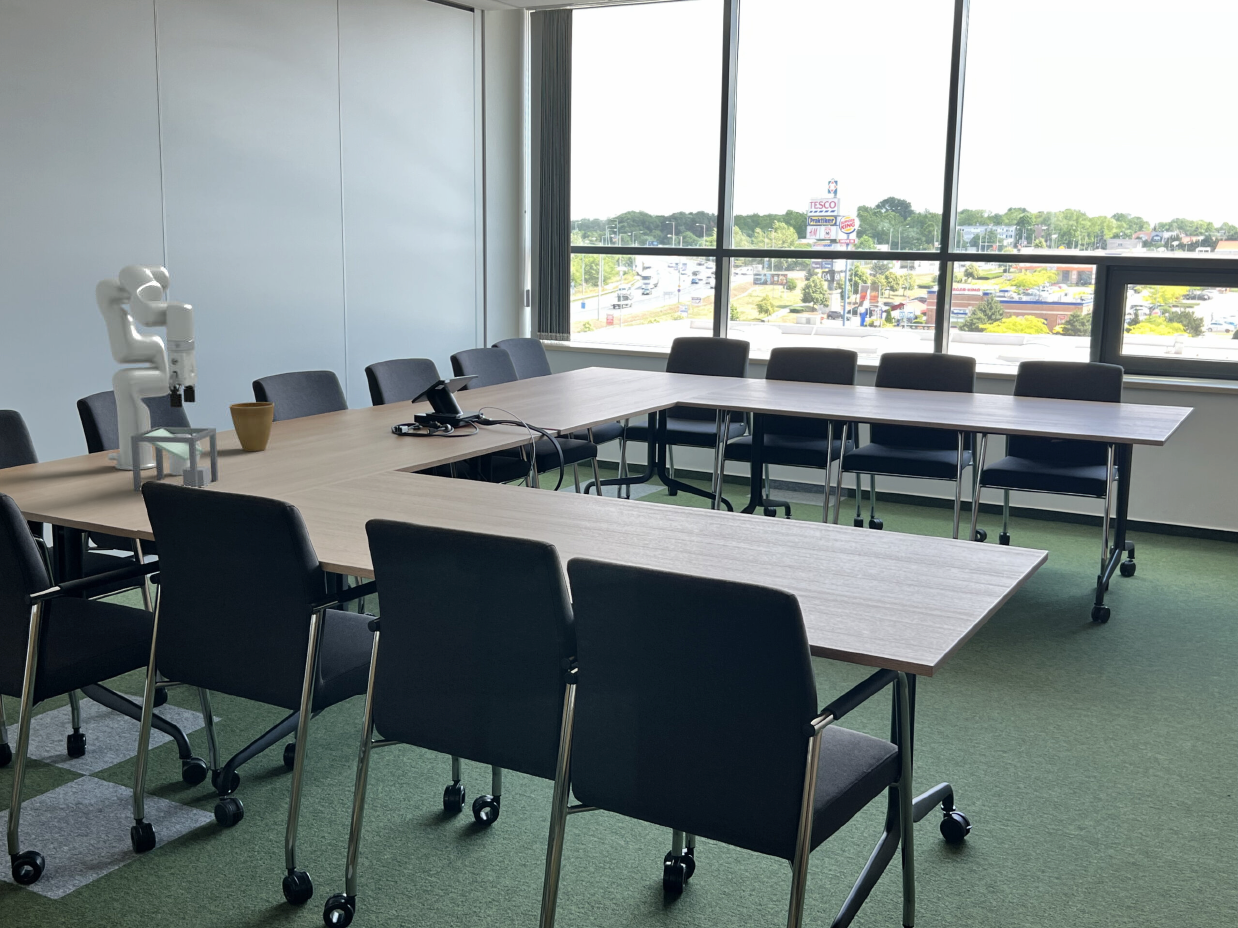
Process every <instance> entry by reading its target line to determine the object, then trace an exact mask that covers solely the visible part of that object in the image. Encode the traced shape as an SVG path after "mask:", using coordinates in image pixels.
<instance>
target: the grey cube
mask: <svg viewBox="0 0 1238 928" xmlns="http://www.w3.org/2000/svg"><path fill="white" fill-rule="evenodd" d="M197 477H198V487H201V486H207V487H209V486H208V484H212V483H211V482H212V481H211V466H202V465H199V466H198V465H197ZM182 483H183V484H182V485H183V486H184V485H185V486H191V480H190V466H189V467H187V468H185V469H183V475H182ZM205 488H206V487H203V488H202V489H205Z"/></svg>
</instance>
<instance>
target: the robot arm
mask: <svg viewBox="0 0 1238 928" xmlns="http://www.w3.org/2000/svg"><path fill="white" fill-rule="evenodd" d="M117 275H118V276H117V277H107V278H103V279H101V280H99V281H98V282H97V284H96V286H95V299H96V300H95V301H96V304H97V307H98V309H99V311H100V314H101V315H102V317H103V319H104V322H105V325H106V330H107V336H108V341H109V345H110V351H111V356H112V359H113V360H114V362H115V363H116V364H118V365H119V364H120V365H124V366H125V365H126V366H127V365H144V364H145V365H146V364H147V365H148V366H147V367H146V366H145V367H127V368H121V369H119V370H117V371H116V372H114V374H113V375H112V377H111V383H112V384H111V385H112V389H113V393H114V398H115V403H116V413H117V428H118V429H117V430H118V443H119V444H118V446H119V452H118V453H108V455H107V456H108V457H107V458H108V460H109V461H116V463H115V464H114V465H115V469H118V470H124V471H125V470H126V471H128V470H129V471H133V464H132V448H131V436H134V435H136V434H139V433H142V432H144V431H147V430H150V429H152V428H151V427H152V426H151V414H150V413H151V412H150V409H149V408H148V406H147V405H146V404H145V403H144V402H143V401H142V399H144V398H154V397H155V398H156V397H162V396H163V397H164V396H167V395H168V394H169V399H170V400H169V401H170V407H171V408H182V407H183V402H184V403H195V402H196V390H195V388H196V383H197V382H198V372H197V363H196V362H197V361H196V355H195V351H196V350H195V348H196V347H195V327H194V326H195V325H194V320H195V319H194V308H193V306H192V305H191V304H190V303H184V302H182V301H179V300H162V298H163V295H164V294H166V292H168V290H169V288H170V285H171V277H170V275H169V272H168V270H167V268H165V267H164V266H162V265H160V264H128V265H126V266H124V267H122V268H121V269H120V270H119V272H118V274H117ZM122 305H123V306H124V305H129V311H128V309H126V308H125V307H123V306H122ZM136 321H137V323H138V324H139V325H141V326H142V327H145V328H164V327H165V330H166V331H165V332H166V346H165V343H164V341H163V340H162V338H161V337H160V336H159V335H158V334H155V333H139V332H138V331H137V325H136ZM167 353H168V355H167ZM167 356H168V357H167ZM183 387H184V388H183ZM182 388H183V390H182ZM182 391H183V394H182V393H181V392H182ZM139 457H140V470H148V469H153V468H156V459H155V460H154V459H153V445H152V444H150V443H148V442H139Z"/></svg>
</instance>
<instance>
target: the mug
mask: <svg viewBox="0 0 1238 928" xmlns="http://www.w3.org/2000/svg"><path fill="white" fill-rule="evenodd" d="M173 434H174V435H176V436H178V437H191V434H186V433H173ZM196 446H197V447H199V448H201V449H202V446H201V443H200V441H197V442H196ZM200 457H201V454H200V455H198V456H197V464H198V463H199V460H200ZM168 461H169V462H168V463H169V473H170V475H171V474H172V476H183V469H185V468H187V467H189V466H190V460H187V461H183V460H181V459H179V458H177V457H175V456H173V455H171V454H169V453H168Z"/></svg>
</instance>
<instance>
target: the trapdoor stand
mask: <svg viewBox="0 0 1238 928" xmlns="http://www.w3.org/2000/svg"><path fill="white" fill-rule="evenodd" d="M159 429H164V430H166V431H168V432H170V433H172V434H189V435H191V434H193V435H192V436H191V437H171V436H143V435H146V434H149V433H151V432H154V431H157V430H159ZM206 438H209V454H210V455H209V458H210V479H211V482H217V480H218V481H219V467H218V449H217V448H218V447H217V446H218V445H217V444H218V443H217V428H211V427H171V426H170V427H168V426H167V427H166V426H156V427H153V428H151V429H150V430H147V431H144V432H142V433H139V434H136V435H134V436H131V448H132V464H133V470H132V480H133V491H134V492H141V491H140V487H141V488H142V476H141V475H142V474H141V469H140V457H139V442H169V443H189V460H190V480H191V487H198V477H197V466H198V463H197V456H196V446H197V445H196V442H197V441H199V442H200V441H202V440H204V439H206ZM154 447H155V449H154V451H155V461H156V467H155V468H156V480H157V481H162V480H161V479H163V480H164V479H165V476H164V475H165V470H164V454H163V452H164V450H162V449H160V448H158V447H156V446H154Z"/></svg>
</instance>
